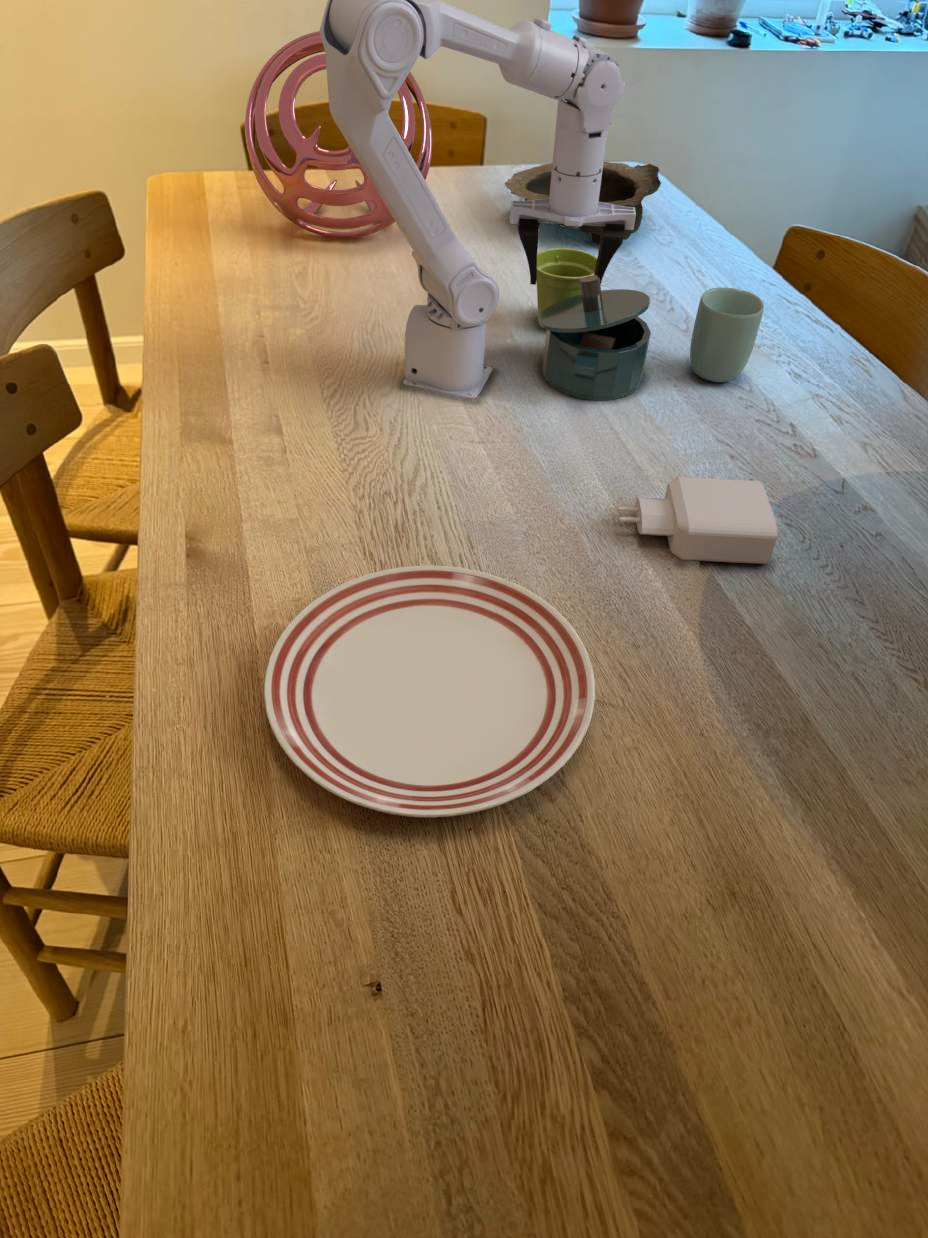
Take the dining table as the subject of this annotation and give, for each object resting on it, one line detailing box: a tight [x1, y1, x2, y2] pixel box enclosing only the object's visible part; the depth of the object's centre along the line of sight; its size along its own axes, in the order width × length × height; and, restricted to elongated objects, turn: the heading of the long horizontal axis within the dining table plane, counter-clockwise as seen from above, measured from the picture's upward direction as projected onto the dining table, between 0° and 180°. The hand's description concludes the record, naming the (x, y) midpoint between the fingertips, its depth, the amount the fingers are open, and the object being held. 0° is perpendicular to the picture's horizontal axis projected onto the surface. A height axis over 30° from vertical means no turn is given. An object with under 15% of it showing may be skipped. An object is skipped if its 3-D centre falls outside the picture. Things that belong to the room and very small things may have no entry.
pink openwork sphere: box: [244, 30, 433, 240], centre depth 144 cm, size 28×28×27 cm
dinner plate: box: [263, 564, 596, 818], centre depth 80 cm, size 27×27×3 cm
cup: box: [689, 287, 765, 383], centre depth 120 cm, size 8×8×10 cm
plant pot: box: [536, 247, 598, 323], centre depth 129 cm, size 9×9×9 cm
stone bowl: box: [504, 161, 662, 246], centre depth 154 cm, size 25×25×9 cm
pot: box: [541, 316, 652, 401], centre depth 120 cm, size 13×18×6 cm
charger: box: [616, 476, 779, 565], centre depth 98 cm, size 5×9×15 cm
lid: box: [537, 275, 651, 333], centre depth 116 cm, size 14×14×5 cm
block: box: [579, 332, 616, 350], centre depth 121 cm, size 4×4×4 cm
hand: (564, 282), depth 118 cm, fingers open, 7 cm apart
